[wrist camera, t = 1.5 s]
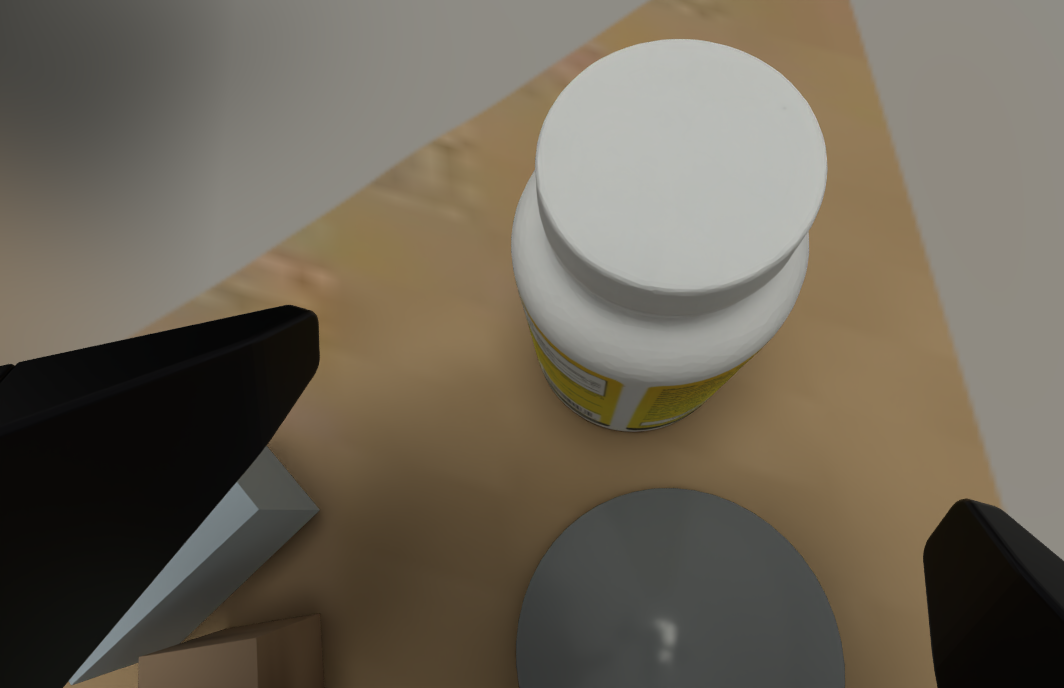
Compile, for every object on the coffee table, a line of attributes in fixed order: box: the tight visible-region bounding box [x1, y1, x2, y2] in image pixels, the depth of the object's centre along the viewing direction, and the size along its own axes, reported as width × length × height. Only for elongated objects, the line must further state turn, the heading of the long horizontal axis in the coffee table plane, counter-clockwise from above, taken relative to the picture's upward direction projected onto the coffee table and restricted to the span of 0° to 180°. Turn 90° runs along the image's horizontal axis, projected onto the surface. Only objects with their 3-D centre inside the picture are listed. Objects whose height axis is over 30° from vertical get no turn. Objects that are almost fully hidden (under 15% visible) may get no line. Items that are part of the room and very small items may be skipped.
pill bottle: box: [511, 39, 827, 432], centre depth 15 cm, size 6×6×11 cm
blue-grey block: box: [69, 446, 319, 685], centre depth 18 cm, size 6×3×4 cm, turn 135°
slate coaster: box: [516, 488, 845, 688], centre depth 18 cm, size 9×9×1 cm
